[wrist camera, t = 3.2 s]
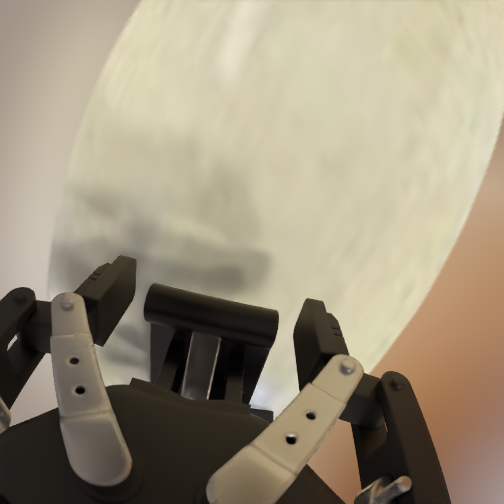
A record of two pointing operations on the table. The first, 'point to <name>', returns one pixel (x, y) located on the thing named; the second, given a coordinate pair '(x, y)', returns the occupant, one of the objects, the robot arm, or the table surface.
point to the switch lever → (208, 329)
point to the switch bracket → (226, 369)
